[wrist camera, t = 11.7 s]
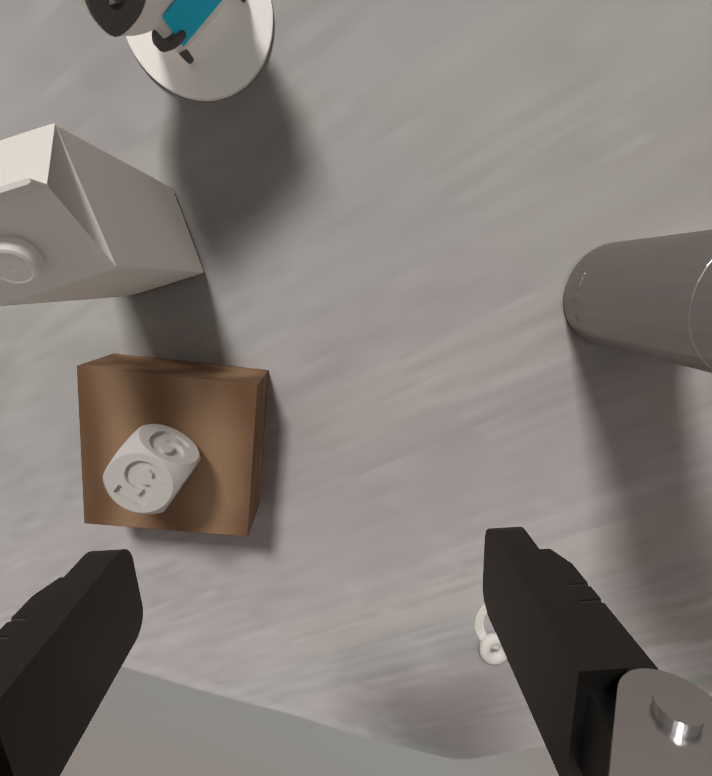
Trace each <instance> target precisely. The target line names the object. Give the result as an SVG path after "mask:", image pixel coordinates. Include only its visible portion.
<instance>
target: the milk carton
mask: <svg viewBox="0 0 712 776" xmlns="http://www.w3.org/2000/svg"><path fill="white" fill-rule="evenodd" d="M203 272H204V271H203V268H202V265H201V263H200V260H199V257H198V255H197V252H196V249H195V247H194V244H193V241H192V239H191V236H190V233H189V231H188V228H187V225H186V223H185V220H184V218H183V215H182V212H181V210H180V207H179V204H178V202H177V199H176V196H175V194H174V191H173V189H172V188H171V187H169V186H167V185H165V184H164V183H162V182H160V181H158V180H156V179H154V178H153V177H151V176H149V175H147V174H145V173H143V172H142V171H140V170H138V169H136V168H134V167H132V166H131V165H129V164H127V163H125V162H123V161H121V160H120V159H118V158H116V157H114V156H112V155H111V154H109V153H107V152H105V151H103V150H101V149H100V148H98V147H96V146H94V145H92V144H90V143H89V142H87V141H85V140H83V139H81V138H79V137H78V136H76V135H74V134H72V133H70V132H68V131H67V130H65V129H63V128H61V127H59V126H57V125H56V124H50V125H47V126H43V127H40V128H37V129H34V130H31V131H28V132H25V133H22V134H19V135H16V136H13V137H10V138H7V139H3V140H0V306H6V305H19V304H32V303H45V302H57V301H70V300H82V299H95V298H108V297H120V296H130V295H134V294H138V293H141V292H144V291H147V290H151V289H154V288H157V287H160V286H164V285H167V284H170V283H173V282H177V281H180V280H183V279H186V278H190V277H193V276H196V275H199V274H202V273H203Z"/></svg>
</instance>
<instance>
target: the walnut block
mask: <svg viewBox="0 0 712 776" xmlns="http://www.w3.org/2000/svg"><path fill="white" fill-rule="evenodd" d="M77 376H78V397H79V418H80V438H81V459H82V479H83V500H84V521H85V523H89V524H101V525H114V526H126V527H138V528H151V529H163V530H176V531H188V532H201V533H213V534H225V535H238V536H248V534H249V531H250V528H251V525H252V523H253V520H254V517H255V514H256V511H257V509H258V506H259V499H260V484H261V470H262V456H263V441H264V427H265V412H266V398H267V384H268V370H261V369H252V368H243V367H234V366H224V365H215V364H206V363H196V362H187V361H178V360H169V359H159V358H150V357H141V356H132V355H122V354H111V355H108V356H105V357H102V358H99V359H96V360H93V361H90V362H87V363H84V364H81V365H78V366H77ZM148 424H160V425H165V426H169V427H171V428H174V429H176V430H178V431H180V432H182V433H183V434H185V435H186V436H187V437H189V438H190V439H191V440H192V441H193V442H194V444H195V445H196V446H197V448H198V451H199V453H200V457H201V459H200V461H199V462H198V464H197V466H196V467H195V469H194V470H193V472H192V473H191V474H190V476H189V477H188V479H187V480H186V482H185V483H184V485H183V486H182V488H181V489H180V490H179V492H178V493H177V495H176V496H175V497H174V499H173V500H172V502H171V503H170V504H169V506H168V507H167V508H166V510H165V511H164V512H162V513H157V514H139V513H134V512H131V511H129V510H126V509H124V508H123V507H121V506H119V505H118V504H117V503H116V502H115V501H114V500H113V499H112V498H111V497H110V495H109V494H108V492H107V490H106V488H105V486H104V482H103V474H104V472H105V470H106V468H107V466H108V464H109V463H110V461H111V460H112V458H113V457H114V456H115V454H116V453H117V452H118V450H119V449H120V448H121V446H122V445H123V444H124V443H125V442H126V441H127V439H128V438H129V437H130V436H131V435H132V434H133V433H134V432H135V431H136V430H137V429H138V428H140V427H141V426H143V425H148Z"/></svg>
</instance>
